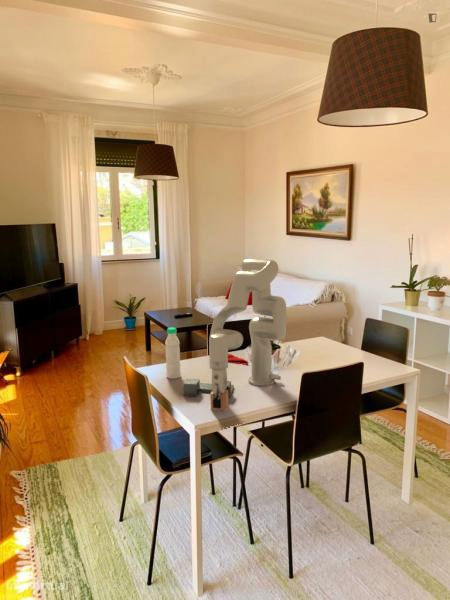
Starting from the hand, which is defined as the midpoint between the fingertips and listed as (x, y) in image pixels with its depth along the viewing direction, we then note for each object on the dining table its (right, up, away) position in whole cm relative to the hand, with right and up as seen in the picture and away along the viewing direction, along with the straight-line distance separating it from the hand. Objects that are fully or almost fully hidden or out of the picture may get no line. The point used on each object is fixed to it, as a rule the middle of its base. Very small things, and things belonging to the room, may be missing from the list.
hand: (219, 403), depth 190 cm
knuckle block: (0, -2, +1) cm, 2 cm away
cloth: (+7, +9, +62) cm, 63 cm away
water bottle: (-23, +5, +37) cm, 44 cm away
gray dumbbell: (-5, +1, +16) cm, 17 cm away
